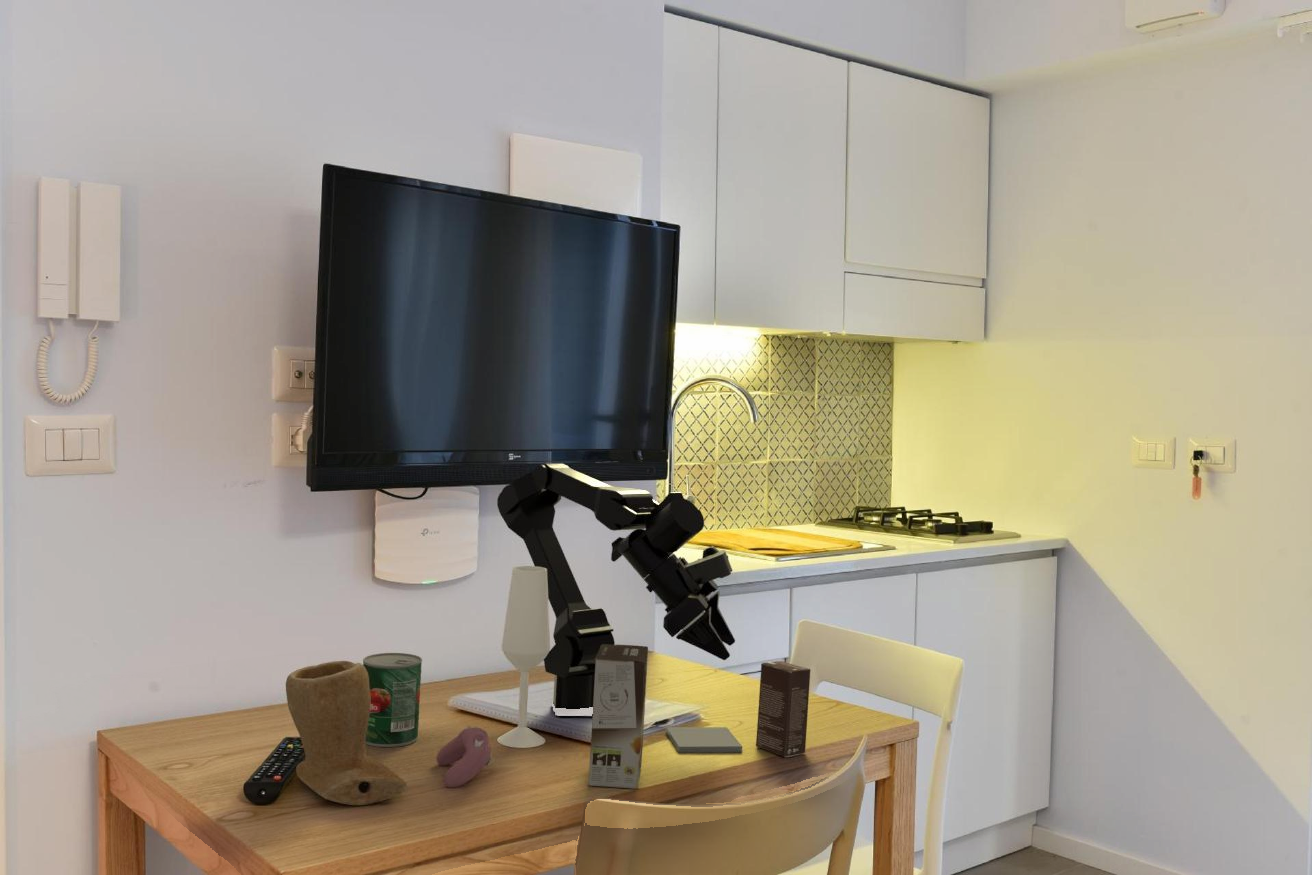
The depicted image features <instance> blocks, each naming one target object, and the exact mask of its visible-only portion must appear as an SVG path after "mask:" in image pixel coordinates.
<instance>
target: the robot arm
mask: <svg viewBox="0 0 1312 875" xmlns="http://www.w3.org/2000/svg"><path fill="white" fill-rule="evenodd" d="M562 498H564V499H567V500H569V501H571V502H574V503H575V504H578V505H580V506H582V507H584V508H586V509H588V510H590V511H591V512H593V514H594V517H595V519H596V520H597V521H598V522H599V523H600V524H601V525H603V526H605V527H606V528H607V529H608V530H610V531H613V532H614V531H631V532H630V533H629V534H628V535H627V536H626V537H622V536H618V537H617V538H616V539H615V540H614V541H612V542H611V558H610V559H611V561H612V562H617V561H618V559H620V558H621V557H622V556H623V557H624V558H625V560H626V561H627V562H628V563H629V564H630V565H631V567H632V568H633V569H634V570H635V571H636V573H638V575H639V577H641V578H642V580H643V581H644V582H645V583H646V584H647V585H646V587H645V589H646V590H647V591H648V592H649V593H652V592H653V593H654V594H655V595H656V596H657V598H659V599H660V601H661V602H662V603H663V604H664V606H665V608H664V611H665V612H666V614H665V615H664V617H663V625H662V626H663V627H662V628H664V630H665V631H666V632H667V634H668V635H669V636H670V637H671V638H674V637H675V638H676V640H678V641H679V640H680V641H683V642H685V643H688V645H691V646H694V647H696V648H697V649H698V648H699V649H700V650H702V651H703V652H704V651H705V652H706V653H708V654H710V655H712V656H714V657H716V658H718V659H721V660H723V661H726V660H727V659H729V657H730V656H731V653H730V652H729V650H728V649H727V647H726V645H727V646H729V647H730V646H733V644H735V642H736V639H735V637H734V635H733V633H732V631H731V629H730V627H729V626H728V623H727V622H726V620H725V617H724V616H723V614H722V611H721V609H720V607H719V602H720V601H719V599H720V590H718V588H719V585H718V584H717V583H716V582H715V581H714V580H717V579H724V578H726V577H728V576H730V575H731V574H732V572H733V568H732V564H731V563H730V561H729V560H730V559H729V556H728V554H727V552H726V550H724V549H722V550H720V551H719V549H718V548H717V547H715V546H714V545H711V546H710V547H706V548H704V549H703V551H702V557H701V558H698V559H696V560H694V561H692V562H689V561H687V559H685V557H681V556H680V557H677V555H676V554H675V552H677V551H678V550H680V549H682V547H683V546H684V545H686V544H687V543H688V542H689V541H691V540H692V539H693V538H694V537H695V536H696V535H698V534H699V533H700V532H701V531H702V530H703V529H704V527H705V518H704V515H703V513H702V511H701V510H700V509H698V507H697V506H696V505H695V504H694V503H693V502H691V501H690V500H688V499H686V498H685V497H684V495H683V493H682V492H681V491H675V492H674V491H672V492H669V493H668V494H667V495H666V496H665V497H664V499H663V500H662V501H660V503H659V502H658V501H655V499H654V496H653V495H652V494H651V493H650V492H649V491H647V490H645V489H639V488H632V487H621V486H620V487H619V486H613V485H610V484H607V483H605V482H602V481H600V480H598V479H596V478H593V477H591V476H589V475H586V474H585V473H582V472H580V471H578V470H574V469H572V468H571V467H569V466H568V465H566V464H565V463H561V462H560V463H557V462H555V463H550V462H549V463H542V464H539V465H537V466H536V467H535V468H534V469H532V471H531V472H529V473H526V474H524V475H522V476H521V477H519V478H516V479H515V480H513V481H512V482H511V483H509V484H507V485H506V486H504V487H503V488H502V490H501V492H499V494H498V497H497V502H496V503H497V509H498V512H499V515H500V516H501V518H502V519H503V521H504V523H505V524H506V526H507V528H508V529H509V530H510V531H512V532H513V533H514V534H516V535H517V536H518V537H519V538H521V539H522V540H523V541H524V544H525V546H526V550H527V552H528V554H529V556H530V558H531V561H532V564H533V565H534V566H536V567H543V568H546V569H547V580H548V602H549V604H550V605H551V608H552V611H553V613H554V616H555V623H554V629H553V634H552V635H553V640H554V643H555V644H554V645H553V647H552V648H550V651H549V653H548V655H547V656H546V657H545V659H544V660H543V664H544V669H545V673H548V674H551V675H554V680H553V682H554V683H553V697H552V698H553V701H552V702H553V704H554V706H555V708H566V709H580V708H589V707H593V696H594V679H595V657H596V655H597V653H598V651H599V649H600V647H601V645H602V644H608V645H616V643H615V637H614V634H613V633H612V632H614V628H613V627H612V626H611V624H610V622H609V620H608V618H607V615H606V614H607V613H606V612H605V610H604V609H603V608H602V607H598V608H597V607H596V608H591V607H590V606H589V605H587V603H586V600H585V598H584V596H583V594H582V592H581V590H580V587H579V585H578V583H577V581H576V578H575V576H574V573H573V572H572V569H571V567H570V564H569V562H568V559H567V558H566V555H565V553H564V551H563V548H562V547H561V543H560V541H559V539H558V537H557V535H556V532H555V530H554V521H555V515H556V508H555V505H557V504H559V503H560V501H561V499H562ZM632 530H633V531H632ZM716 591H717V592H716ZM712 593H714V594H713V595H712V596H711V594H712ZM725 644H726V645H725Z"/></svg>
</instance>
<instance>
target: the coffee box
mask: <svg viewBox="0 0 1312 875" xmlns="http://www.w3.org/2000/svg"><path fill="white" fill-rule="evenodd" d="M648 654H649V646H644V645H634V644H633V645H632V644H631V645H630V644H615V645H608V644H602V645H601V647H600V649H599V651H598V653H597V655H596V657H595V679H594V696H593V714H592V718H591V733H590V734H591V736H590V752H589V754H590V756H589V767H588V768H589V770H588V772H589V773H588V786H591V787H606V788H620V789H621V788H622V789H631V790H632V789H637V788H638V785H639V780H640V774H641V771H642V770H641V769H642V761H643V749H644V748H643V745H644V728H645V727H644V726H645V713H646V711H645V709H646V707H645V706H646V692H647V690H646V689H647V674H648V657H649V656H648Z"/></svg>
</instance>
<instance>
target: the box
mask: <svg viewBox="0 0 1312 875" xmlns="http://www.w3.org/2000/svg"><path fill="white" fill-rule="evenodd" d="M760 666H761V667H760V677H759V678H760V682H759V694H758V695H759V696H758V709H757V711H758V712H757V724H756V725H757V727H756V741H755V747H757V748H760V749H763V750H765V751H768V752H771V753H773V754H777V755H778V756H781V757H784V758H792V757H793V758H794V757H797V756H799V755H804V754H805V753H806V745H807V744H806V743H807V732H808V730H807V729H808V728H807V727H808V713H809V712H808V711H809V710H808V709H809V699H810V698H809V696H810V683H811V682H810V681H811V668H807V667H803V666H799V665H796V664H793V663H788V662H785V661H782V660H780V661H779V660H777V661H768V662H762V663H761V665H760Z"/></svg>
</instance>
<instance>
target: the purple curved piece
mask: <svg viewBox="0 0 1312 875" xmlns="http://www.w3.org/2000/svg"><path fill="white" fill-rule="evenodd" d="M489 743H490V740H489V734H488V732H487V731H486V730H484V729H482V728H480V727H477V726H473V727H471V725H470V724H468V725H467V727H466V728H464V729H462V730H461V731H460V733H459V734H458V735H457V736H456V737H454V738H453V739H452V740H451V741H450V742H448V743H447V744H445V745H444V746H443V747H441V748H440V749H439V751H438V752H437V755H436V763H437V764H438V765H439V766H442V767H443V766H450V765H453V764H454V765H453V766H451V767H450V768H449V769H447V771H446V773H445V774H444V776H443V780H442V782H443V784H444V786H445V787H446V788H449V789H450V788H451V789H453V788H456V787H457V788H458V787H462V786H463V785H465V784H466V783H468V782H469V781H472V779H473V778H475V776H476V775H478V774H479V773H480V772H482V771H483V769H484V768H485V767H488V766H489V765H490V764H491V763H492V756H491V752H492V747H491V746H490V745H489Z"/></svg>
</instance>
